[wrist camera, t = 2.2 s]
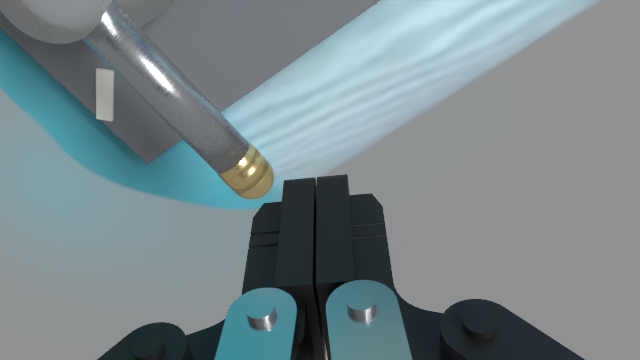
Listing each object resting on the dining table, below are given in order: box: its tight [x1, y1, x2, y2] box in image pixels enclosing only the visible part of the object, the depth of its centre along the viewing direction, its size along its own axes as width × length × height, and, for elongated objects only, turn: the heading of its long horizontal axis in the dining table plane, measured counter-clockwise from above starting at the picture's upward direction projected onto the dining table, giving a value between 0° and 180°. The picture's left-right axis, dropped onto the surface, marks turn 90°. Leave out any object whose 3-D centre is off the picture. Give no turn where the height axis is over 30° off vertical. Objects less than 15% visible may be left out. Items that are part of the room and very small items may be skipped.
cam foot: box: [0, 0, 274, 199], centre depth 21 cm, size 16×9×6 cm, turn 36°
